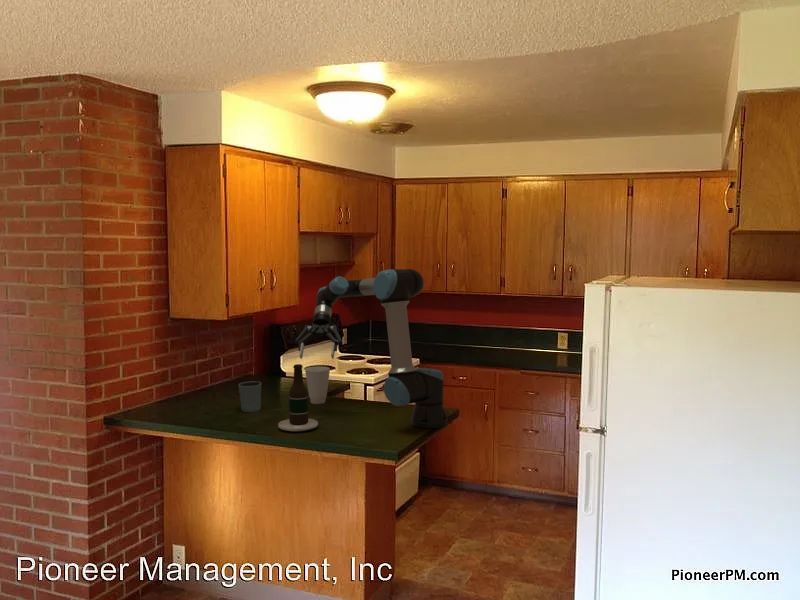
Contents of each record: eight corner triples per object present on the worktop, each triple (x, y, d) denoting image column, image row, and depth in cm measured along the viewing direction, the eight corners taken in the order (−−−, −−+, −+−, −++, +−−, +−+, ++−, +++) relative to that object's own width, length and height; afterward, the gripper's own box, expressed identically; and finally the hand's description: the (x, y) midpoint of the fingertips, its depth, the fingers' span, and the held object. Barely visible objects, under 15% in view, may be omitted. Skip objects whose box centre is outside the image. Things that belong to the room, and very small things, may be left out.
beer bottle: (312, 422, 280) (311, 364, 278) (297, 426, 275) (296, 367, 273) (300, 419, 286) (299, 362, 284) (285, 423, 280) (284, 364, 278)
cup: (313, 406, 317) (312, 372, 315) (300, 401, 326) (300, 368, 325) (335, 402, 324) (334, 369, 322) (322, 398, 333) (322, 365, 332)
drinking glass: (266, 408, 312) (266, 382, 311) (250, 413, 304) (249, 386, 303) (250, 406, 318) (250, 380, 317) (234, 410, 310) (233, 384, 309)
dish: (323, 430, 276) (323, 425, 276) (284, 435, 270) (283, 430, 269) (311, 421, 291) (311, 416, 291) (274, 425, 284) (273, 420, 284)
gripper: (351, 322, 308) (346, 361, 295) (296, 322, 310) (289, 361, 297) (349, 312, 302) (344, 351, 289) (293, 312, 304) (285, 351, 291)
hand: (316, 356), depth 293 cm, fingers open, 13 cm apart
